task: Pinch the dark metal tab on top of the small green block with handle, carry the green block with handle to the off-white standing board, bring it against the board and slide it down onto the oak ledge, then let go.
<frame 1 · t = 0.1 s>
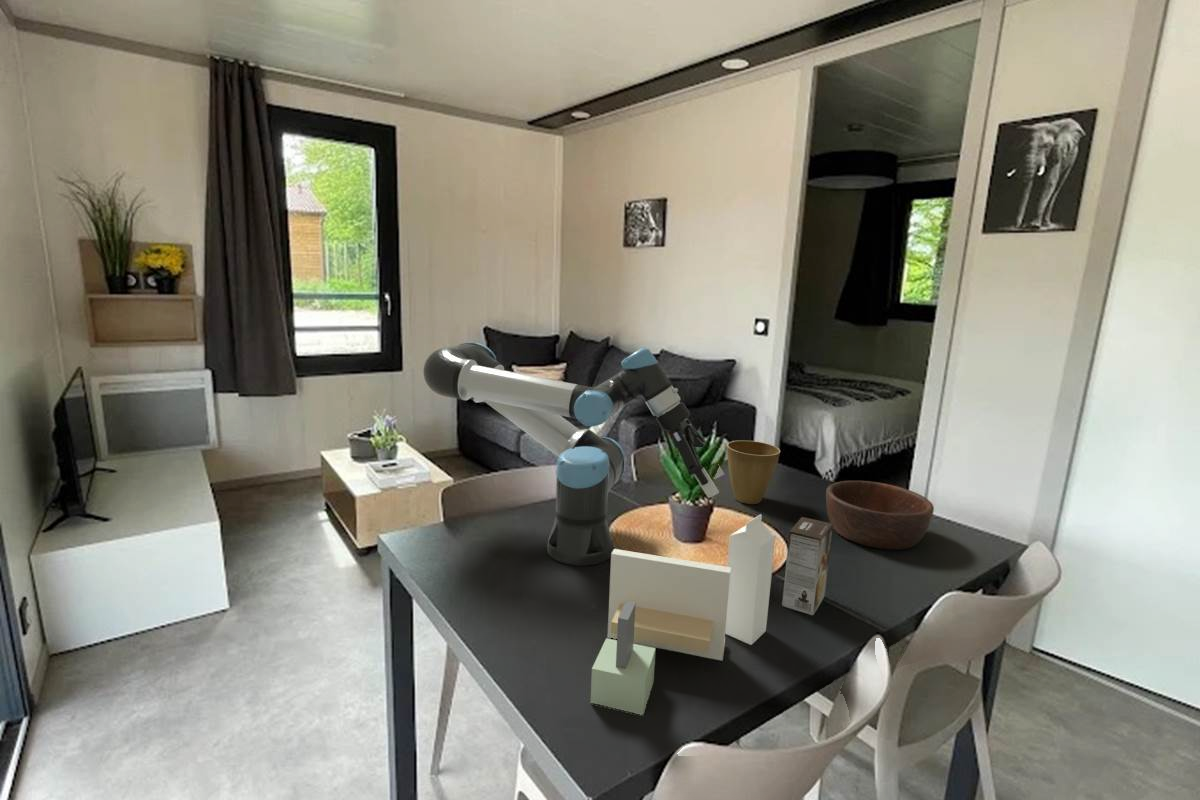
hand: (716, 485, 142), 15 cm above the table, tool tilted 35°, fingers open, 13 cm apart
coffee box: (803, 602, 122), on the table
milk: (743, 632, 110), on the table
wooden bowl: (873, 534, 156), on the table
plant pot: (748, 500, 177), on the table
green block with handle: (622, 692, 93), on the table
wall board: (664, 645, 105), on the table
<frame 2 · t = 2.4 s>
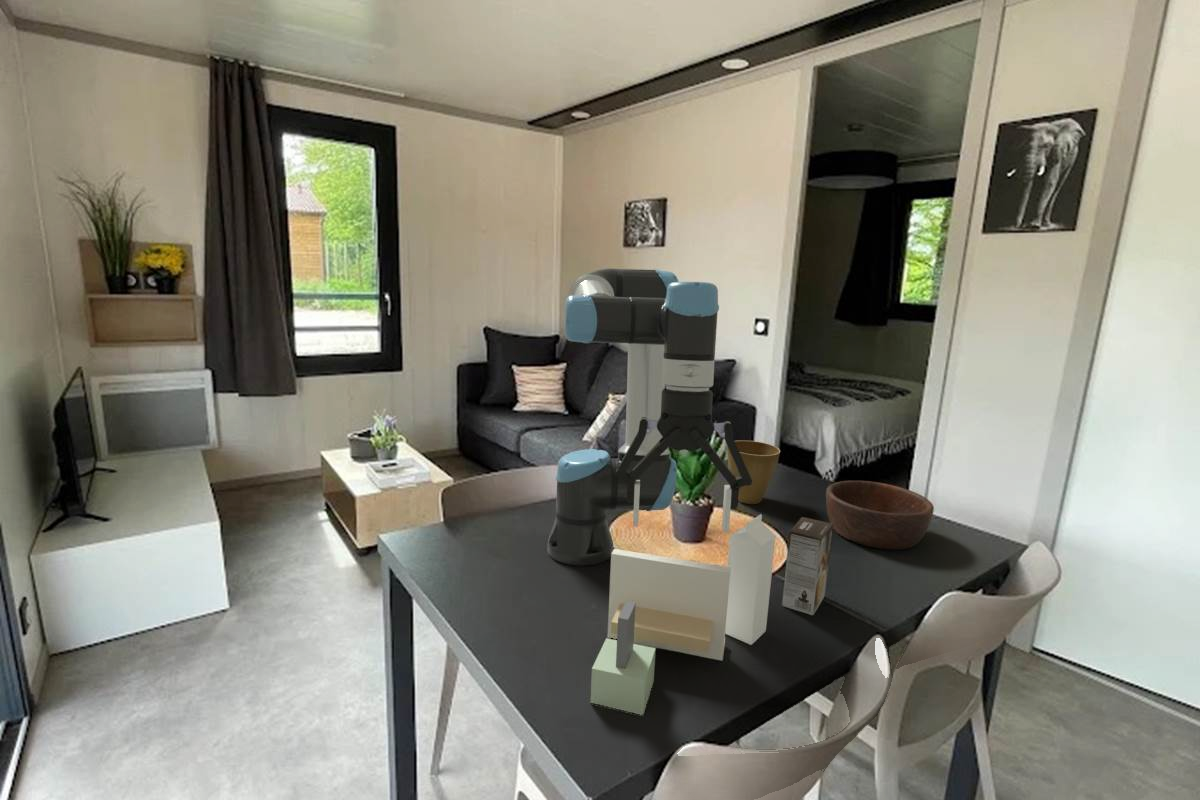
hand: (680, 526, 92), 25 cm above the table, tool pointing down, fingers open, 13 cm apart
nothing on the table moved.
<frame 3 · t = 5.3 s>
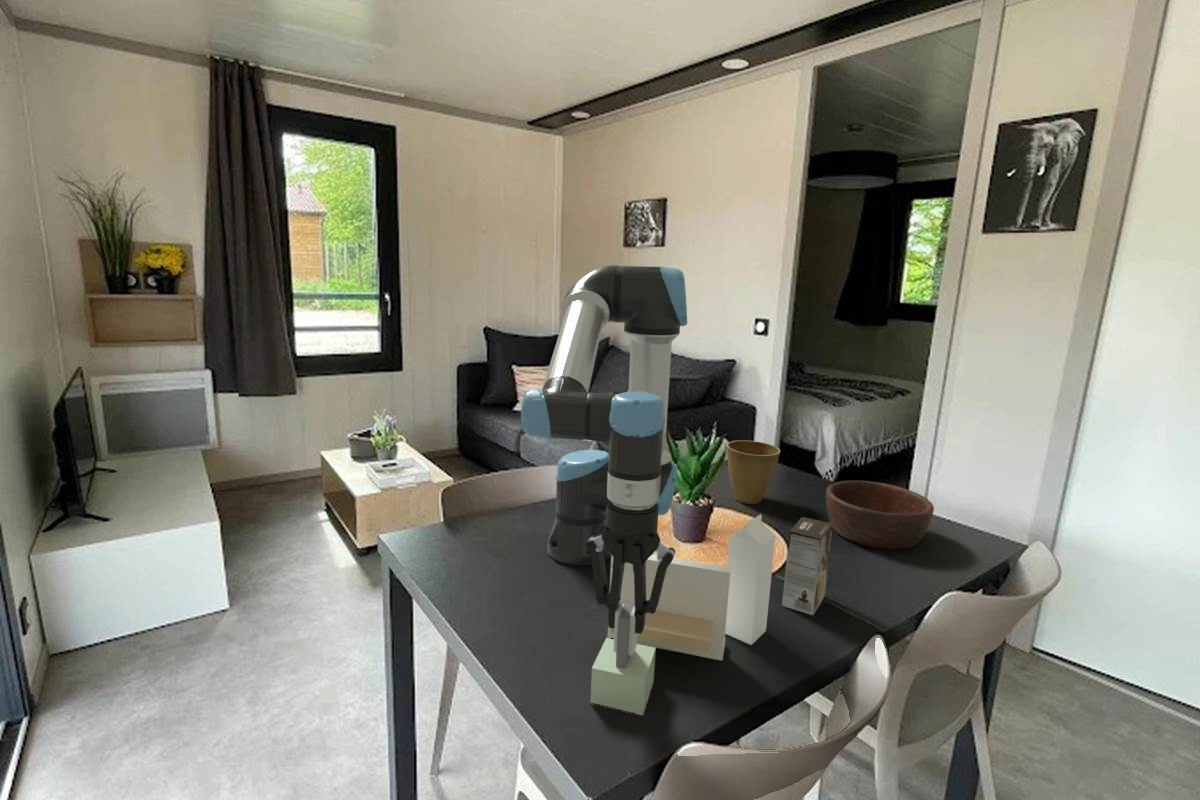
hand: (625, 648, 91), 8 cm above the table, tool pointing down, fingers closed on green block with handle, 1 cm apart
green block with handle: (622, 692, 93), on the table, touching gripper
everything else where it was.
when the fingers open (15 cm above the table, at t = 9.3 s): green block with handle stays where it is, resting on wall board.
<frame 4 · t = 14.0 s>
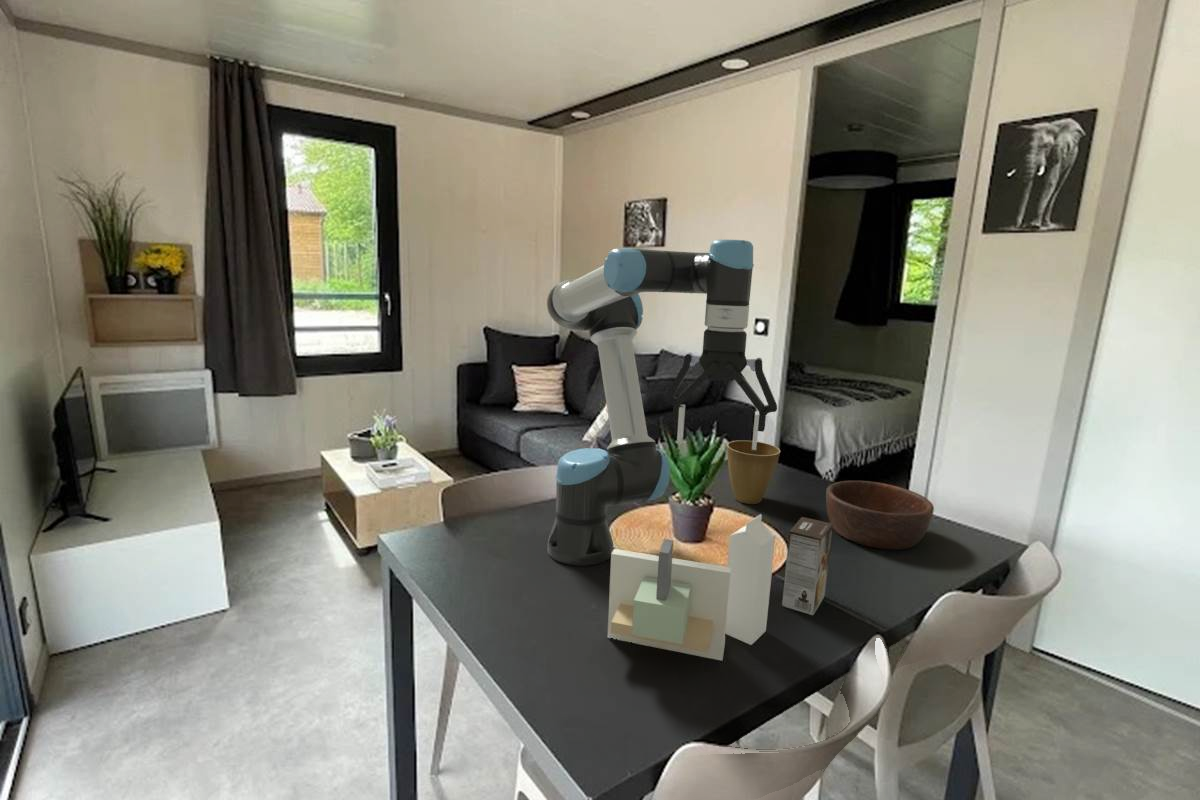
hand: (716, 444, 112), 33 cm above the table, tool pointing down, fingers open, 13 cm apart
green block with handle: (661, 625, 99), point 7 cm above the table, touching wall board
everything else where it was.
at the end: green block with handle inside the target area on the wall board (0.3 cm from its centre), point 7.0 cm above the wall board's base; green block with handle tilted 0°; the gripper is holding nothing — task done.
